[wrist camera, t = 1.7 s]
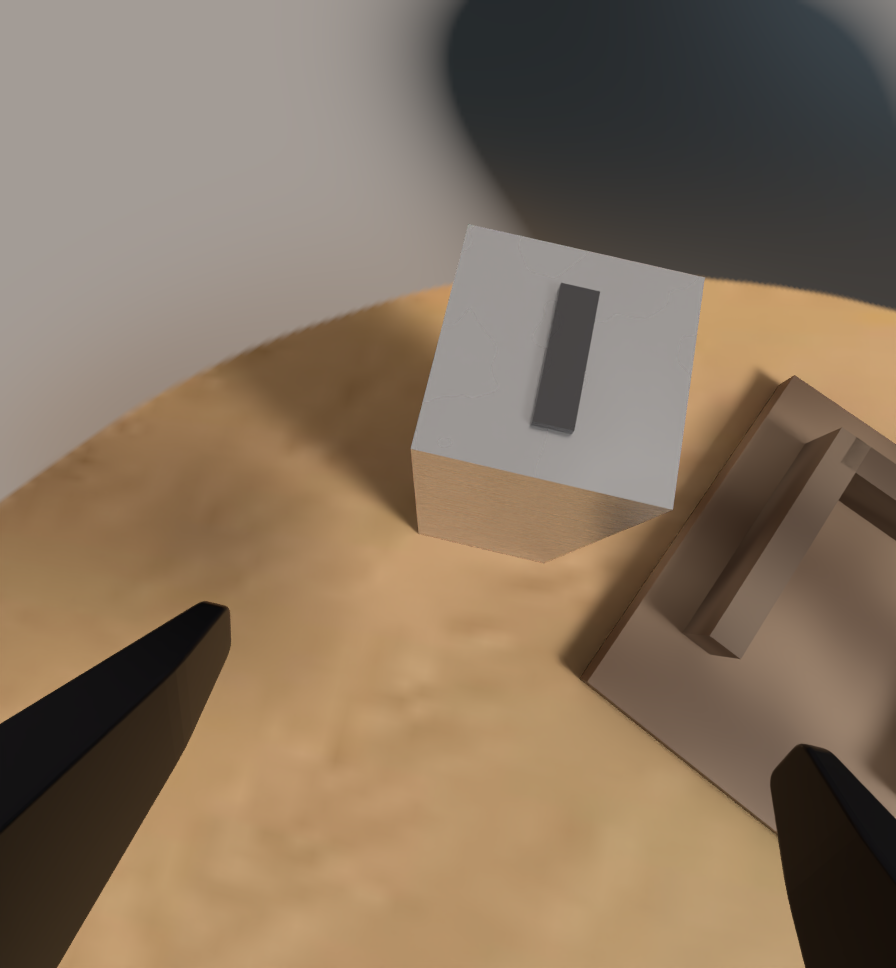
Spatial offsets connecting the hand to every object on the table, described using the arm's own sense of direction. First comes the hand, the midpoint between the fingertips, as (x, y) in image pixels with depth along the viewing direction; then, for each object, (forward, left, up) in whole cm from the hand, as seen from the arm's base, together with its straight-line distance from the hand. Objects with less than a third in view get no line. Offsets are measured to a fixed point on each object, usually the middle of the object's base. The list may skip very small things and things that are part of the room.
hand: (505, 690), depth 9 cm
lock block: (+5, +3, -12) cm, 14 cm away
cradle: (+11, -10, -12) cm, 19 cm away
